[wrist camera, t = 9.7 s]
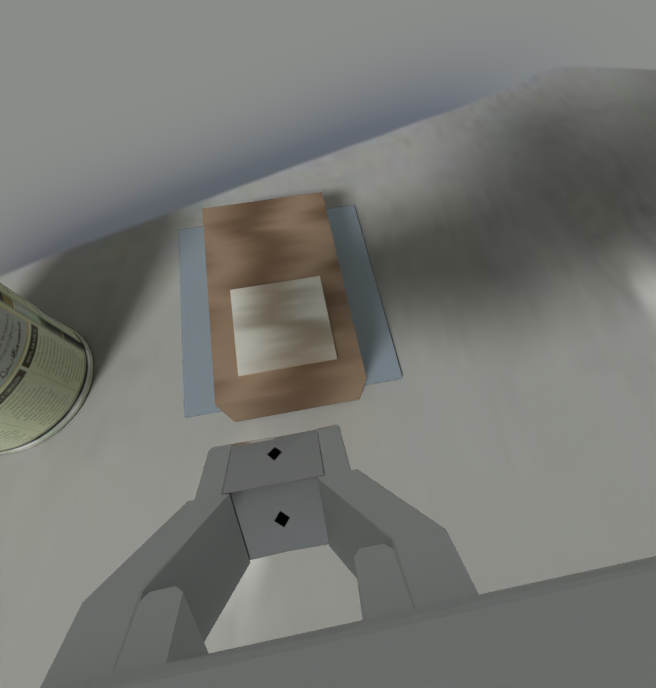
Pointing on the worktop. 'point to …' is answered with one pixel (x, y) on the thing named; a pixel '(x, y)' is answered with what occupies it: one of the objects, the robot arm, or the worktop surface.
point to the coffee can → (38, 373)
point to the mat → (358, 290)
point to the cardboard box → (278, 309)
